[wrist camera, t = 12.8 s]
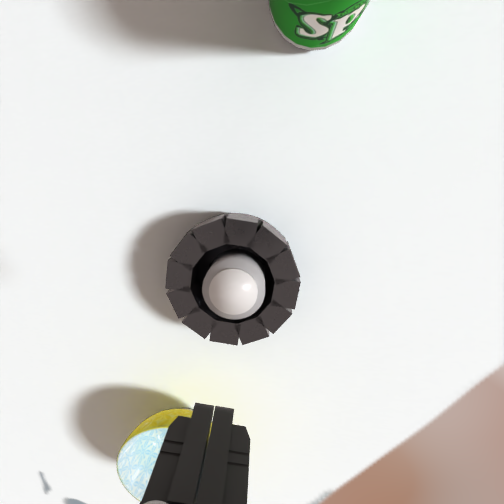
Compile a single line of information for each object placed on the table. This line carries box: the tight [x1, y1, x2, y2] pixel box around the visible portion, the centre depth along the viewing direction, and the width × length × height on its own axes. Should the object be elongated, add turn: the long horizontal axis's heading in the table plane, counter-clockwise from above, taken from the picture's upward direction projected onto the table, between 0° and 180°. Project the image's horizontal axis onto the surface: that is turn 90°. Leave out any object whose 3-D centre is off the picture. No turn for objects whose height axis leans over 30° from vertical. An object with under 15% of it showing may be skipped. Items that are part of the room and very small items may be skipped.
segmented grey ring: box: [166, 213, 300, 345], centre depth 30 cm, size 12×12×4 cm
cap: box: [202, 248, 265, 319], centre depth 29 cm, size 6×6×4 cm
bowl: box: [117, 408, 212, 502], centre depth 34 cm, size 11×12×6 cm
